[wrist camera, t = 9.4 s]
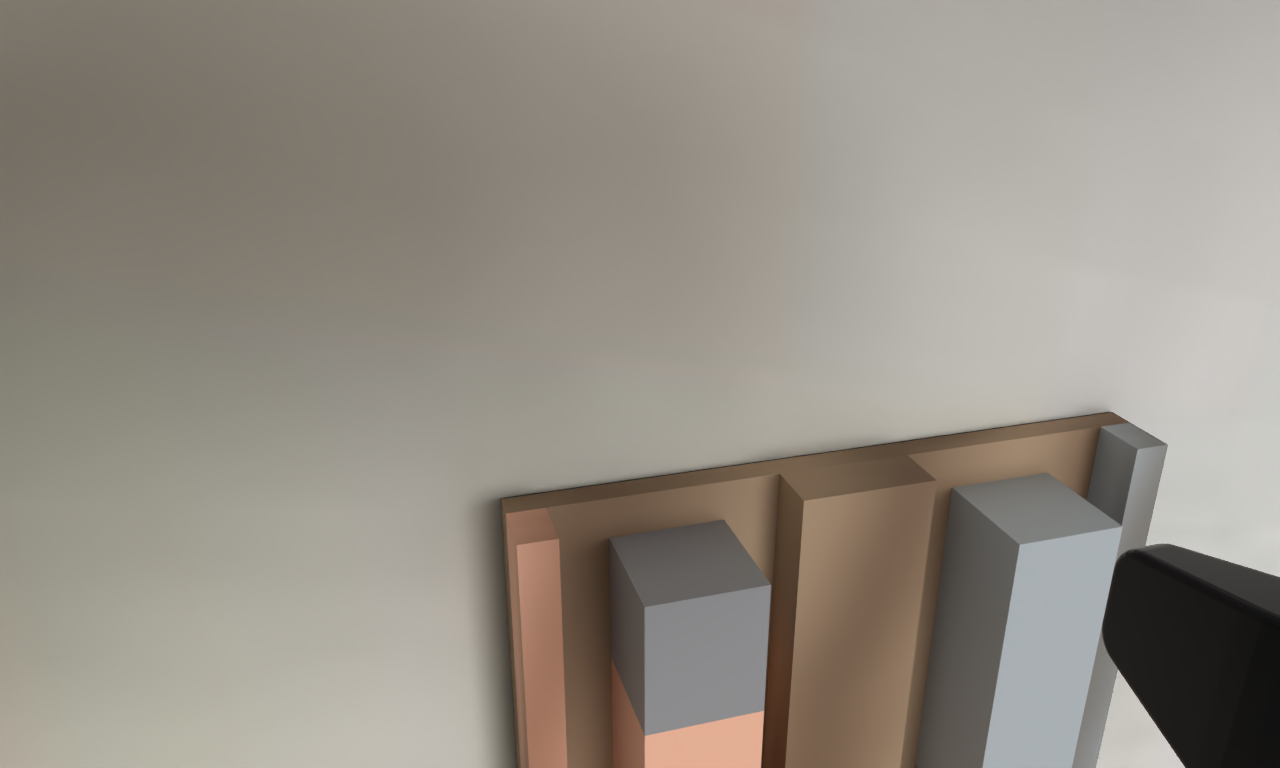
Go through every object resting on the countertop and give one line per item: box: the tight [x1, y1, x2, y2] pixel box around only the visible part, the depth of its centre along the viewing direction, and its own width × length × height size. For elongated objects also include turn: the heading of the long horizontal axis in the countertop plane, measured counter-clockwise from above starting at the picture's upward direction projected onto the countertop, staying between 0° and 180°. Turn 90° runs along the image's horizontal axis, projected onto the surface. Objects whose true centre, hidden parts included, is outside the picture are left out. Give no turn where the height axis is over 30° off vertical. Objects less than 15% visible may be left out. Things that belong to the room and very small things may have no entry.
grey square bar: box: [915, 473, 1123, 768], centre depth 25 cm, size 11×2×2 cm, turn 0°
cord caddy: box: [501, 412, 1168, 768], centre depth 24 cm, size 15×13×2 cm
